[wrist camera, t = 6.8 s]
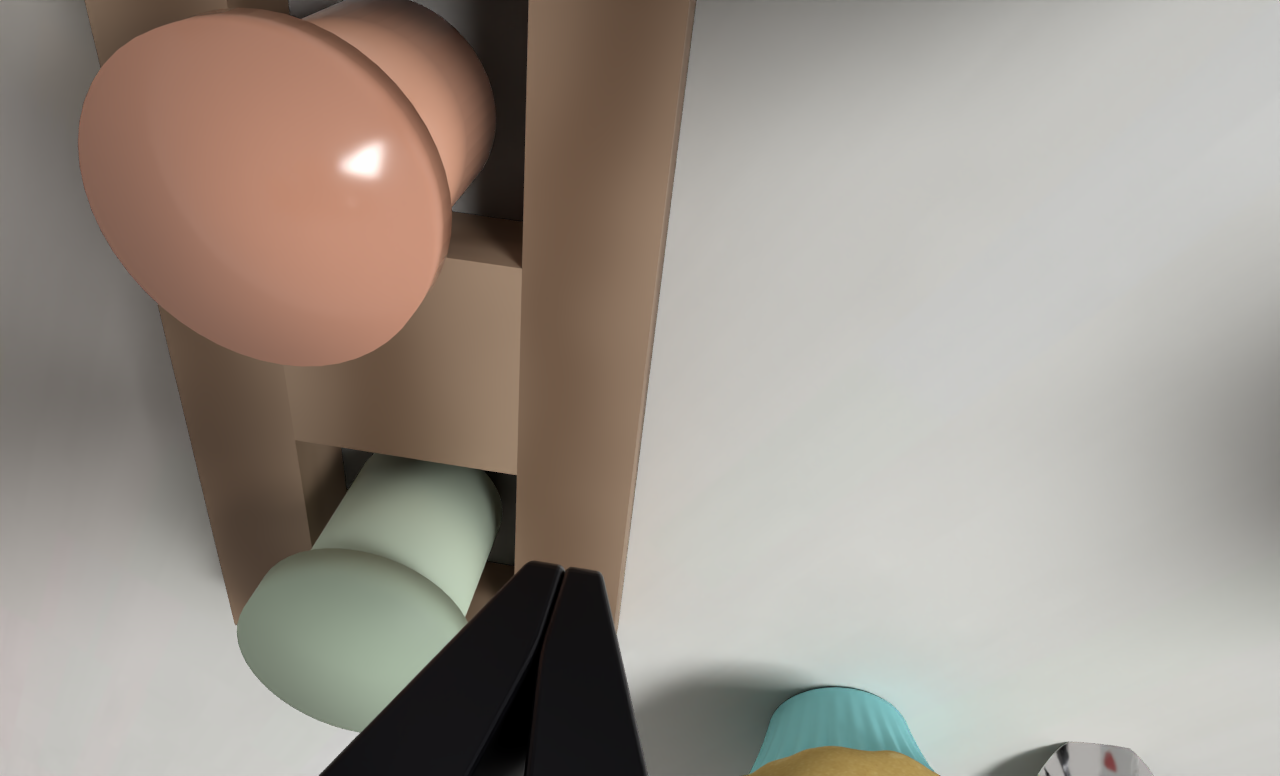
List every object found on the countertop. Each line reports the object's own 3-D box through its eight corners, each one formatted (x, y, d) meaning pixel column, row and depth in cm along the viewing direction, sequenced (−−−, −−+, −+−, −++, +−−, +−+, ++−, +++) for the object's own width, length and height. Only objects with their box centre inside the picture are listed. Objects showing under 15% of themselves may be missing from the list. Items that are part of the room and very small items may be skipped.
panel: (713, -137, 17) (705, -130, 15) (617, 625, 29) (606, 687, 27) (121, -209, 17) (33, -212, 15) (272, 568, 30) (234, 624, 28)
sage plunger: (524, 440, 24) (461, 602, 19) (520, 581, 27) (464, 750, 22) (330, 410, 25) (218, 561, 20) (347, 553, 28) (255, 713, 23)
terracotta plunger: (527, -20, 17) (425, 49, 12) (521, 245, 20) (437, 388, 15) (247, -57, 17) (31, -4, 12) (284, 211, 20) (125, 340, 15)
